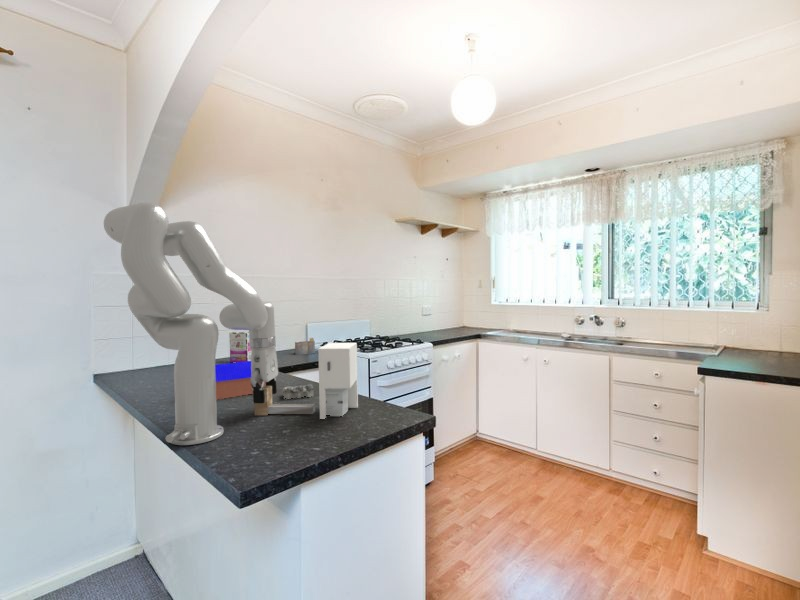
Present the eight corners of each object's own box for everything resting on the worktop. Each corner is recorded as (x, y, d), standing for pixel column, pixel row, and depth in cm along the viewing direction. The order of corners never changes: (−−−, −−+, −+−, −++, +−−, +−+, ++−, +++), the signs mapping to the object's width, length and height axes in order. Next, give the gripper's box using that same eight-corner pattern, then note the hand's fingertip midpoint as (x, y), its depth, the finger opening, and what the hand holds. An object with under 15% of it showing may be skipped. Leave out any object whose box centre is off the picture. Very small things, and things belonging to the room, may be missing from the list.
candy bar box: (253, 361, 216) (252, 331, 216) (247, 363, 211) (246, 332, 211) (236, 361, 219) (235, 331, 219) (229, 362, 214) (228, 332, 214)
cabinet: (350, 420, 115) (348, 348, 114) (319, 420, 115) (317, 349, 115) (358, 406, 128) (356, 342, 128) (330, 406, 129) (328, 342, 128)
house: (204, 394, 148) (203, 363, 147) (260, 386, 159) (259, 357, 159) (210, 401, 138) (209, 368, 137) (269, 392, 149) (268, 361, 149)
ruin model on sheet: (313, 353, 247) (313, 337, 247) (314, 353, 244) (314, 337, 244) (295, 354, 242) (294, 338, 241) (296, 355, 239) (295, 339, 239)
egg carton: (282, 401, 137) (282, 389, 137) (282, 395, 144) (282, 384, 144) (314, 398, 140) (314, 386, 140) (312, 392, 148) (312, 381, 147)
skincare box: (323, 416, 119) (322, 391, 119) (329, 410, 125) (329, 386, 125) (343, 416, 118) (342, 392, 118) (348, 410, 124) (348, 387, 124)
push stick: (311, 415, 120) (311, 388, 120) (254, 415, 121) (253, 388, 121) (315, 411, 124) (314, 385, 124) (259, 411, 125) (259, 385, 125)
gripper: (263, 347, 114) (266, 407, 115) (284, 338, 131) (287, 390, 132) (237, 348, 114) (241, 407, 115) (262, 339, 131) (264, 390, 132)
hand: (265, 398), depth 123 cm, fingers open, 9 cm apart
